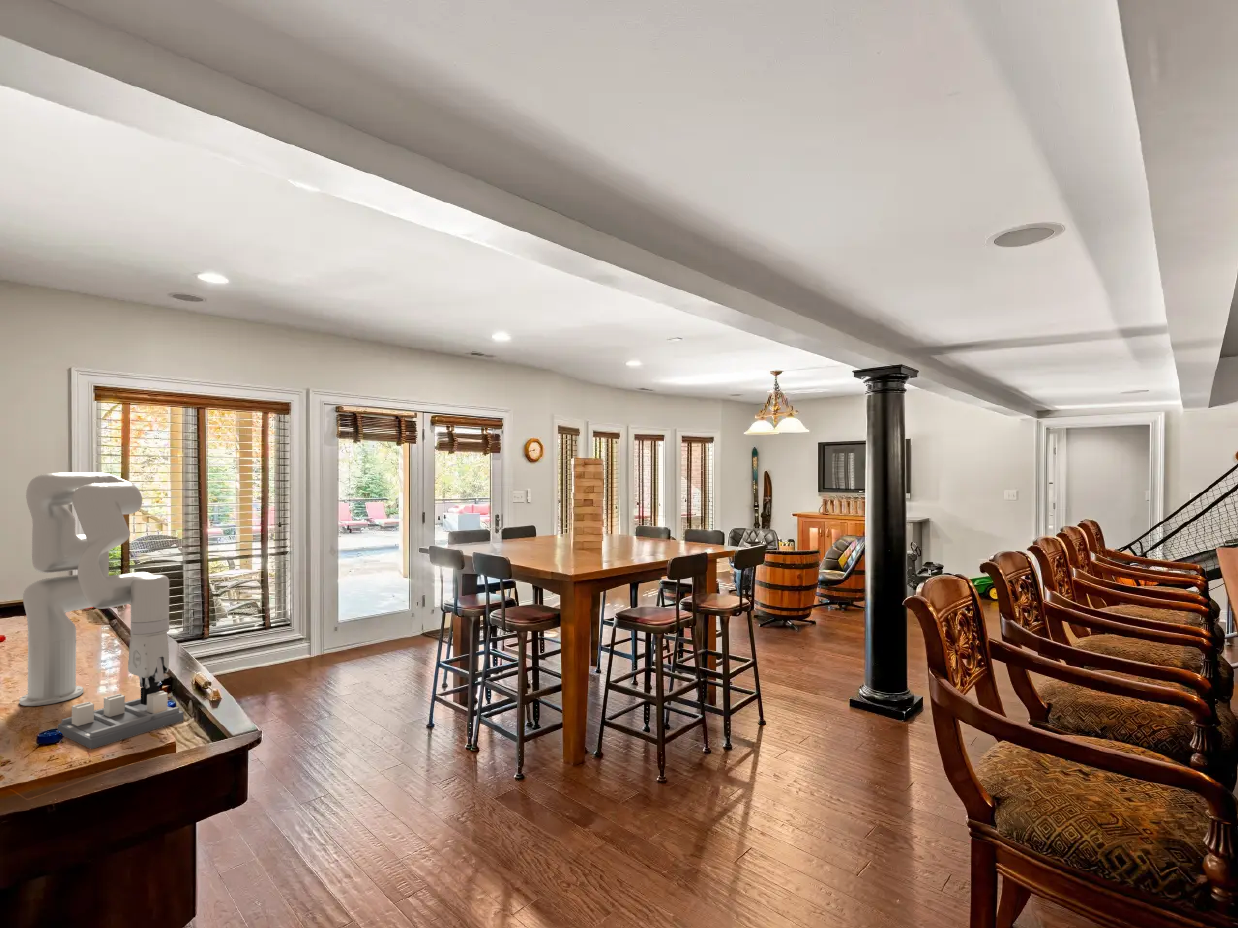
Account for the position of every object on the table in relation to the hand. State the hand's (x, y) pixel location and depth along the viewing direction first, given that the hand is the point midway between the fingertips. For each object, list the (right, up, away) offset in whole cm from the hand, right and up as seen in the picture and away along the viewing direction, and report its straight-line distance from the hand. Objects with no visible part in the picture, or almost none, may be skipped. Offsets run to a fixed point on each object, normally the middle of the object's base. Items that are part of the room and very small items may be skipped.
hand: (149, 702), depth 153 cm
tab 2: (-6, -1, -4) cm, 7 cm away
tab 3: (+3, -1, -2) cm, 4 cm away
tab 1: (-9, -1, -9) cm, 12 cm away
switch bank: (-2, -3, -6) cm, 7 cm away
